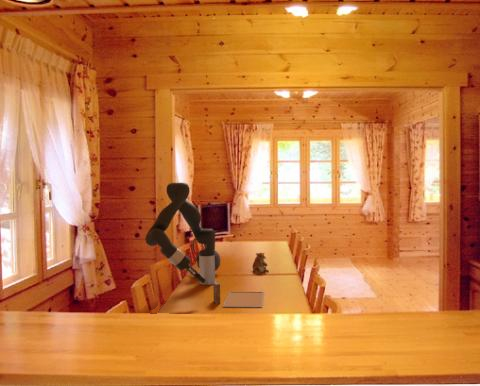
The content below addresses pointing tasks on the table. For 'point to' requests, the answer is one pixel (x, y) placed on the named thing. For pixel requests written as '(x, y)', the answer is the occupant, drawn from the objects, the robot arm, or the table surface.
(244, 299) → the picture frame
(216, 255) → the pitcher
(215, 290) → the walnut tile
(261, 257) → the brown bear figurine
